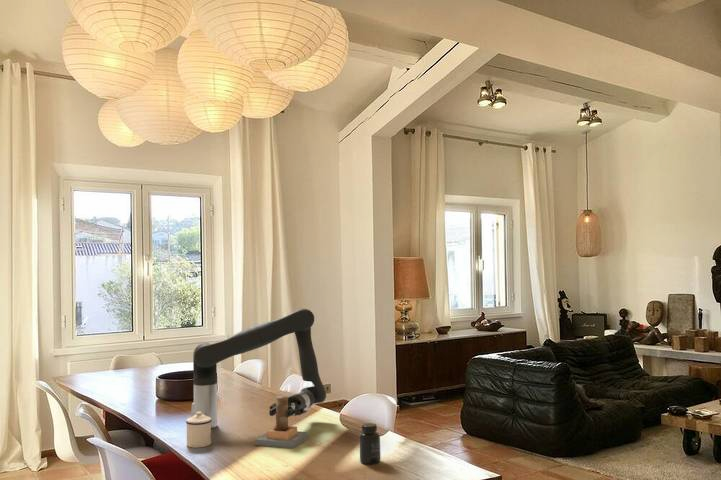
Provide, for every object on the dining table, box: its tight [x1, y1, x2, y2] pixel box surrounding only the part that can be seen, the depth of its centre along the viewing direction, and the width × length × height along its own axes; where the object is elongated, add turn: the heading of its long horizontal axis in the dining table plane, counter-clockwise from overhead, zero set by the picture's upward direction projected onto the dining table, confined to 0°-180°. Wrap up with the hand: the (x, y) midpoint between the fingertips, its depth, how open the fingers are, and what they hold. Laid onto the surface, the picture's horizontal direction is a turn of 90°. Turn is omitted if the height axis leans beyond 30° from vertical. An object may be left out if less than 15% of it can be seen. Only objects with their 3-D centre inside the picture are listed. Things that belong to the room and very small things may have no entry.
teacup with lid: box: [185, 412, 212, 449], centre depth 225 cm, size 12×9×12 cm
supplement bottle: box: [358, 422, 382, 466], centre depth 202 cm, size 7×7×12 cm
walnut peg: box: [275, 395, 289, 431], centre depth 227 cm, size 4×4×14 cm
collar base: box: [254, 425, 309, 449], centre depth 227 cm, size 15×14×4 cm
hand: (279, 413), depth 225 cm, fingers open, 6 cm apart
